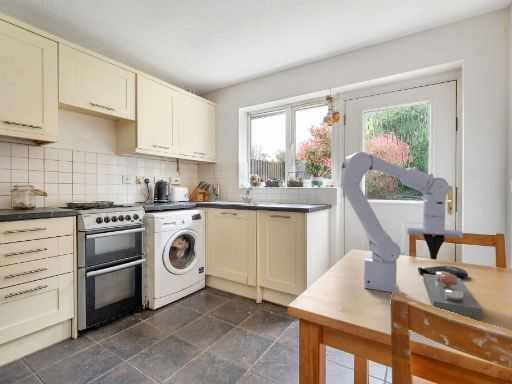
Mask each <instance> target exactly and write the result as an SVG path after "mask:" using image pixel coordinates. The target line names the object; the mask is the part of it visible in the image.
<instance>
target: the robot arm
mask: <svg viewBox="0 0 512 384" xmlns="http://www.w3.org/2000/svg"><path fill="white" fill-rule="evenodd" d="M340 169H341V171H340V172H341V175H340V187H341V189H342V191H343V193H344V194H345V196H346V198H347V200H348V202H349V205H350V206H351V207H352V209H353V211H354V213H355V215H356V217H357V218H358V220H359V222H360V223H361V226H362V227H363V229H364V232H365V233H366V238H367V241H368V246H369V250H370V251H371V252H372V253H371V257H365V258H364V270H363V271H364V272H363V273H364V274H363V281H364V284H363V288H365V289H371V290H376V291H383V292H387V293H388V292H389V293H394V292H398V293H399V289H398V282H397V262H398V261H397V260H398V259H399V258H400V256H401V252H402V251H401V248H400V246H399V244H398V243H396V242H395V241H394V240H392V238H391V236H390V235H389V234H388V233H387V232H386V231H385V230H384V228H383V226H382V224H381V222H380V221H379V219H378V217H377V215H376V213H375V212H374V209H373V208H372V207H371V205H370V202H369V201H368V199H367V197H366V195H365V193H364V192H363V190H362V188H361V187H360V186H361V185H360V184H361V183H362V179H363V177H364V176H365V174H366V173H368V172H369V171H376V172H377V171H378V172H381V173H382V174H385V175H388V176H391V177H394V178H397V179H398V180H399V181H400V183H401V185H403V186H407V187H409V188H410V189H413V190H416V191H419V192H420V193H421V194H422V195H423V215H422V217H423V218H422V219H423V221H422V222H423V223H422V227H407V229H406V231H407V232H406V233H407V235H414V236H415V235H419V236H423V239H424V240H425V243H426V246H427V248H428V251H429V257H430V259H431V260H437V259H438V254H439V251H440V248H441V247H442V246H443V243H444V242H445V240H446V238H458V239H464V232H463V231H462V230H452V229H446V200H447V196H448V194H449V193H450V191H451V186H450V185H449V182H448V181H447V179H445V178H443V177H435V176H434V174H433V173H426V172H424V171H421V170H420V169H419V167H416V166H413V167H407V168H404V167H403V168H402V167H401V166H399V165H396V164H394V163H392V162H390V161H388V160H385V159H382V158H381V157H378V156H376V155H374V154H370V153H367V152H364V151H357V152H355V153H354V154H350V155H348V156H346V157H345V159H344V160H343V162H342V164H341V166H340Z"/></svg>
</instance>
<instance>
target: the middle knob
mask: <svg viewBox="0 0 512 384" xmlns="http://www.w3.org/2000/svg"><path fill="white" fill-rule="evenodd" d="M440 282H442V283H444V284H446V288H451V285H456V284H457V276H455V275H452V274H447V273H441V274H440Z"/></svg>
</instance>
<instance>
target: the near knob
mask: <svg viewBox="0 0 512 384" xmlns="http://www.w3.org/2000/svg"><path fill="white" fill-rule="evenodd" d="M445 298H446V299H448V300H451V301H455V302H462V301H463V292H462V291H460V290H457V289H452V288H446V289H445Z"/></svg>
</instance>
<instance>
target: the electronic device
mask: <svg viewBox="0 0 512 384" xmlns="http://www.w3.org/2000/svg"><path fill="white" fill-rule="evenodd" d="M417 271H418V272H417V273H418V274H419V275H421V276H423V274H430V275H432V274H434V275H436V271H444V272H448V273H450V274H452V275H455V276H457V278H460V279H461V280H463V279H467V278H468V277H469V273H468V272H467V270H465V269H464V268H460V267H457V266H450V265H439V266H438V265H436V266H429V267H424V268H423V267H421V266H418V267H417Z"/></svg>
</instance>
